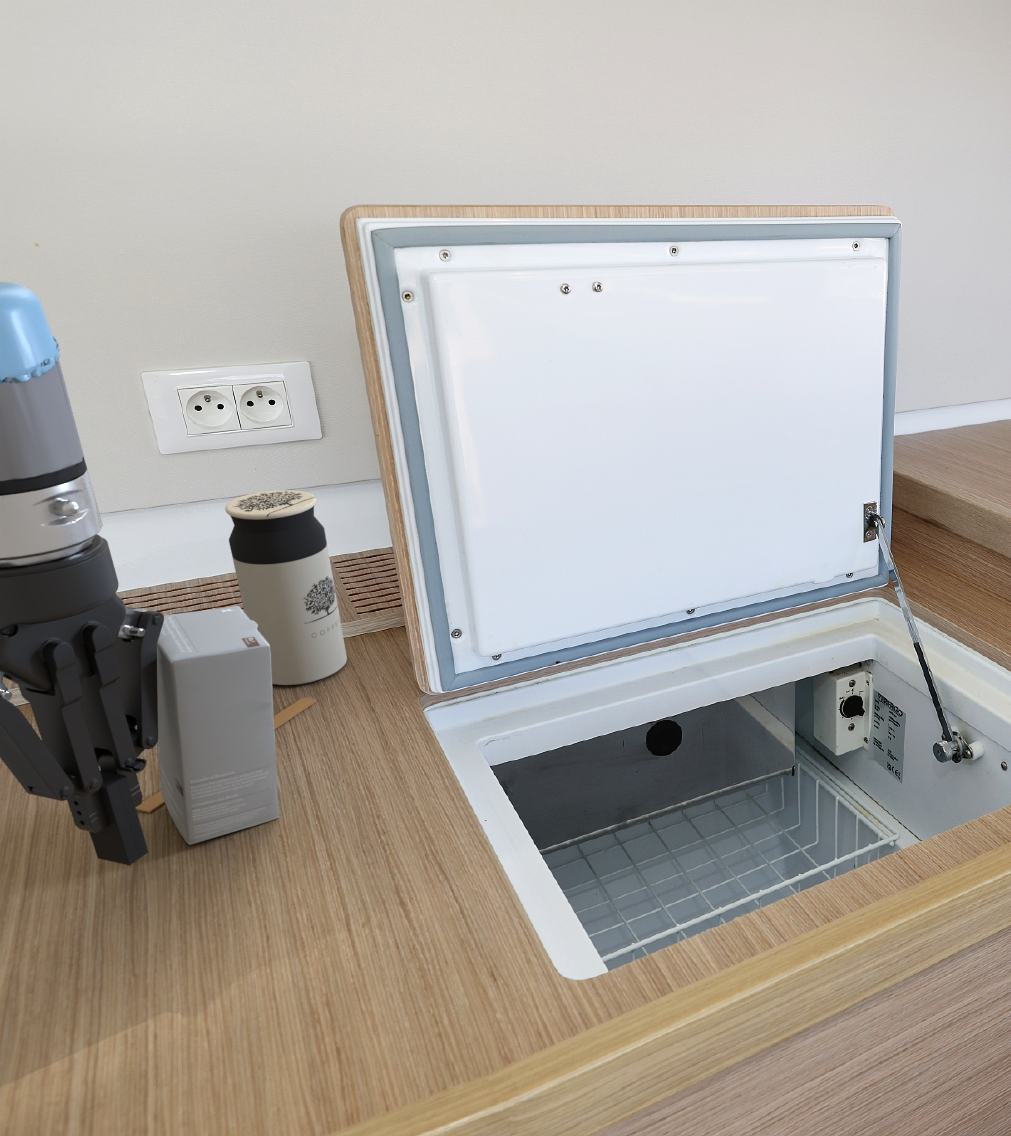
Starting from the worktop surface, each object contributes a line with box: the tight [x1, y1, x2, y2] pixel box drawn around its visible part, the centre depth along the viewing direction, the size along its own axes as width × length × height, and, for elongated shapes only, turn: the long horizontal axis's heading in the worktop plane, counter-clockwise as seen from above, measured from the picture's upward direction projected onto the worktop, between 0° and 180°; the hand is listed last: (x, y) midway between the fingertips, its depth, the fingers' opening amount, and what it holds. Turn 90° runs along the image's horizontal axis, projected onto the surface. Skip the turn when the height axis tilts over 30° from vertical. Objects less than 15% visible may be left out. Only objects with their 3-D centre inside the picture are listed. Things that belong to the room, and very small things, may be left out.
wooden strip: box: [136, 697, 318, 814], centre depth 83 cm, size 2×18×1 cm, turn 167°
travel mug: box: [224, 489, 348, 686], centre depth 93 cm, size 8×8×18 cm
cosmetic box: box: [156, 605, 280, 846], centre depth 73 cm, size 8×7×16 cm
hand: (123, 855), depth 67 cm, fingers closed
